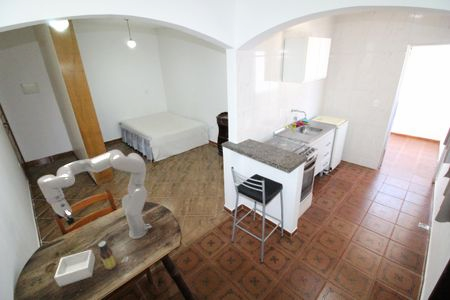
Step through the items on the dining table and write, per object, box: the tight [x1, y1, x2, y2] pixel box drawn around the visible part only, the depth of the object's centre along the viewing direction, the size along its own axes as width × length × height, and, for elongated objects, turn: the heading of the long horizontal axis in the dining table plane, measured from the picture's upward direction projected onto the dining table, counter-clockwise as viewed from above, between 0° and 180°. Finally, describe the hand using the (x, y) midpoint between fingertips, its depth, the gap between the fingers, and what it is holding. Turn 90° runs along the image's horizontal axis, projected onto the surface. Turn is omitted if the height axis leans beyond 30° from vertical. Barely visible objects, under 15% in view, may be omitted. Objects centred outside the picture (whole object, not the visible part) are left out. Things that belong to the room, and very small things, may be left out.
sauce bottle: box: [97, 240, 117, 271], centre depth 126 cm, size 6×6×20 cm
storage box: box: [53, 249, 96, 288], centre depth 126 cm, size 16×13×8 cm
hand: (67, 220), depth 122 cm, fingers open, 9 cm apart
